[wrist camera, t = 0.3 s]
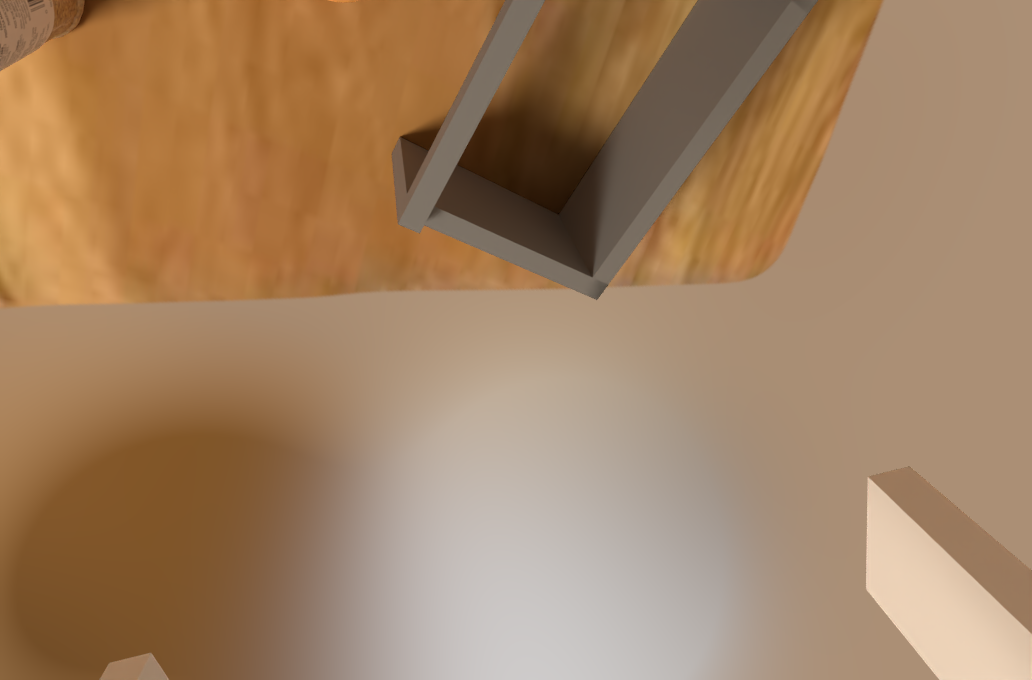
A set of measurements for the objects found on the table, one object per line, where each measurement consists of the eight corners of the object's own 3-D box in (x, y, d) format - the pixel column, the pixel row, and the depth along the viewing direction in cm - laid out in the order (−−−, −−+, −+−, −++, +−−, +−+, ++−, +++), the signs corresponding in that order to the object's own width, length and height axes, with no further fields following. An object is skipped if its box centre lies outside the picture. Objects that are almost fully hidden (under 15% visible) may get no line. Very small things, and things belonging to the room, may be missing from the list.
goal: (557, -192, 25) (620, -208, 19) (742, -35, 30) (841, -7, 24) (391, 153, 32) (398, 224, 26) (563, 235, 37) (602, 311, 31)
